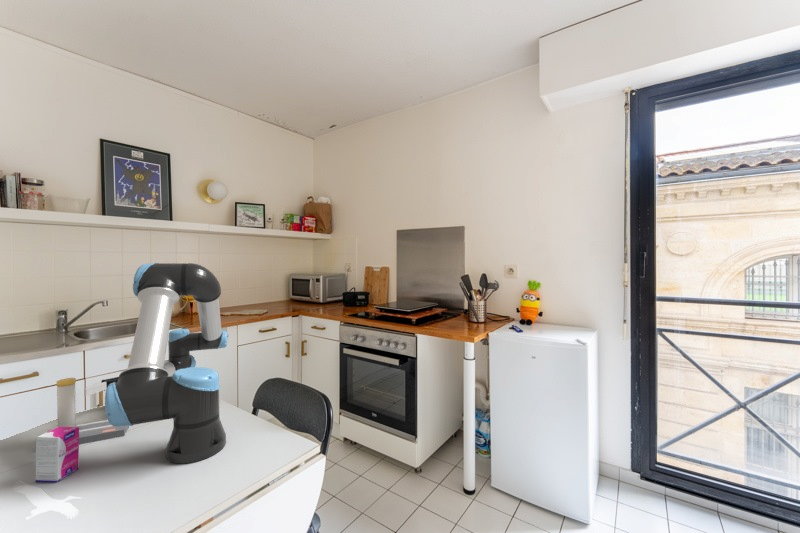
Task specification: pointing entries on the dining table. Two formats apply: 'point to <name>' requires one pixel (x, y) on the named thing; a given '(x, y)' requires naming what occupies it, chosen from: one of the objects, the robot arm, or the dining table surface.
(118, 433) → the switch panel
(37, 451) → the supplement box
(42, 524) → the dining table surface
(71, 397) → the switch handle
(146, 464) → the dining table surface
